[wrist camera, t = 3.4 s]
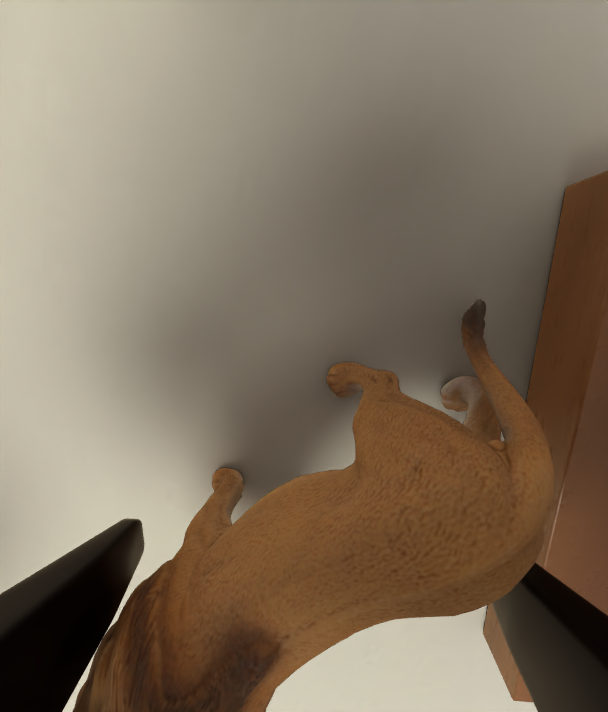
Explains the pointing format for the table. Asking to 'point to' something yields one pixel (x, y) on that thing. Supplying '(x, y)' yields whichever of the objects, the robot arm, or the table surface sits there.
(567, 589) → the robot arm
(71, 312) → the table surface
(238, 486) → the lion figurine
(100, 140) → the table surface
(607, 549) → the riser
